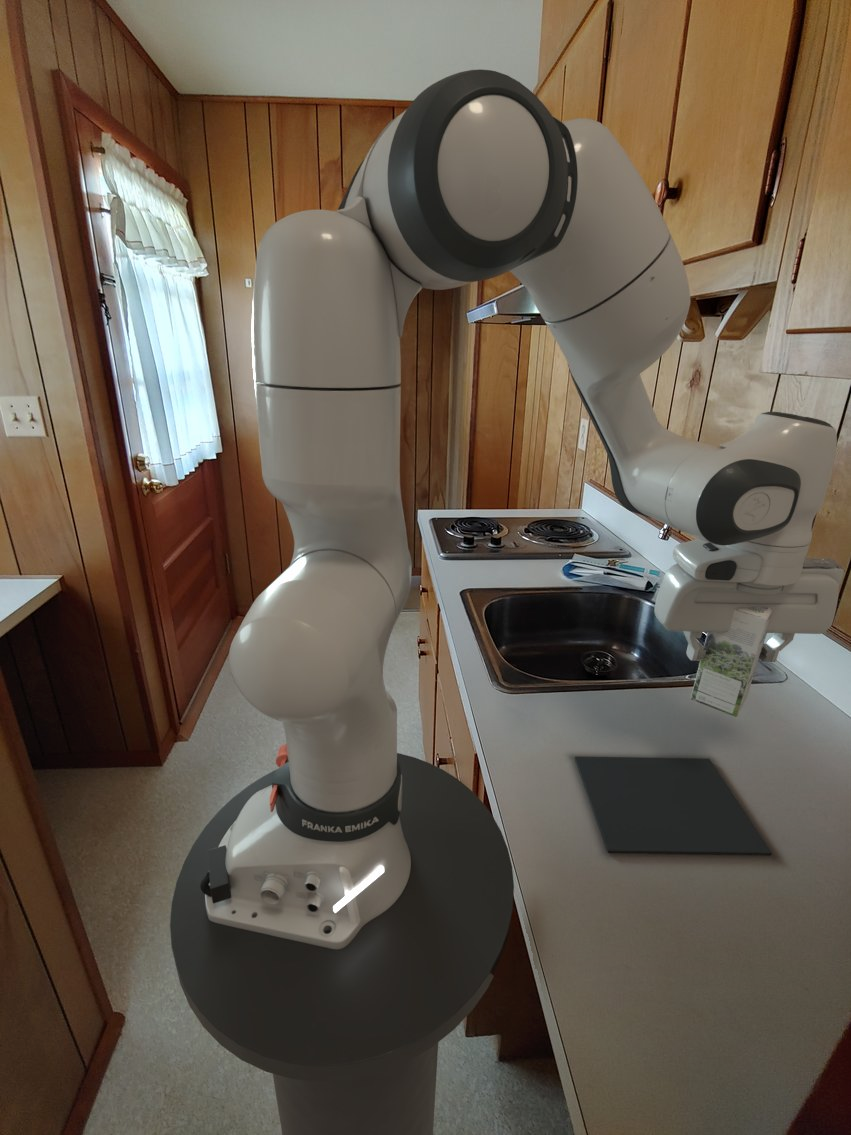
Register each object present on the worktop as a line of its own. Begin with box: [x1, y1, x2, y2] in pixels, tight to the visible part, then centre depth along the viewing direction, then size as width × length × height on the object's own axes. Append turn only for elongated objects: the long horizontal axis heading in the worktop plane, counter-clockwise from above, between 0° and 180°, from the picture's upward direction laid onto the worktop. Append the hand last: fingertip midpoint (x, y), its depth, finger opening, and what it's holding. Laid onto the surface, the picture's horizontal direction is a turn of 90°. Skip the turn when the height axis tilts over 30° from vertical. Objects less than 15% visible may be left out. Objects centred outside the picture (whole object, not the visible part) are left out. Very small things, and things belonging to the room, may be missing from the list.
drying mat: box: [574, 755, 773, 856], centre depth 74 cm, size 20×16×1 cm
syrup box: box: [690, 607, 772, 718], centre depth 69 cm, size 6×6×14 cm
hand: (729, 658), depth 69 cm, fingers closed on syrup box, 7 cm apart
